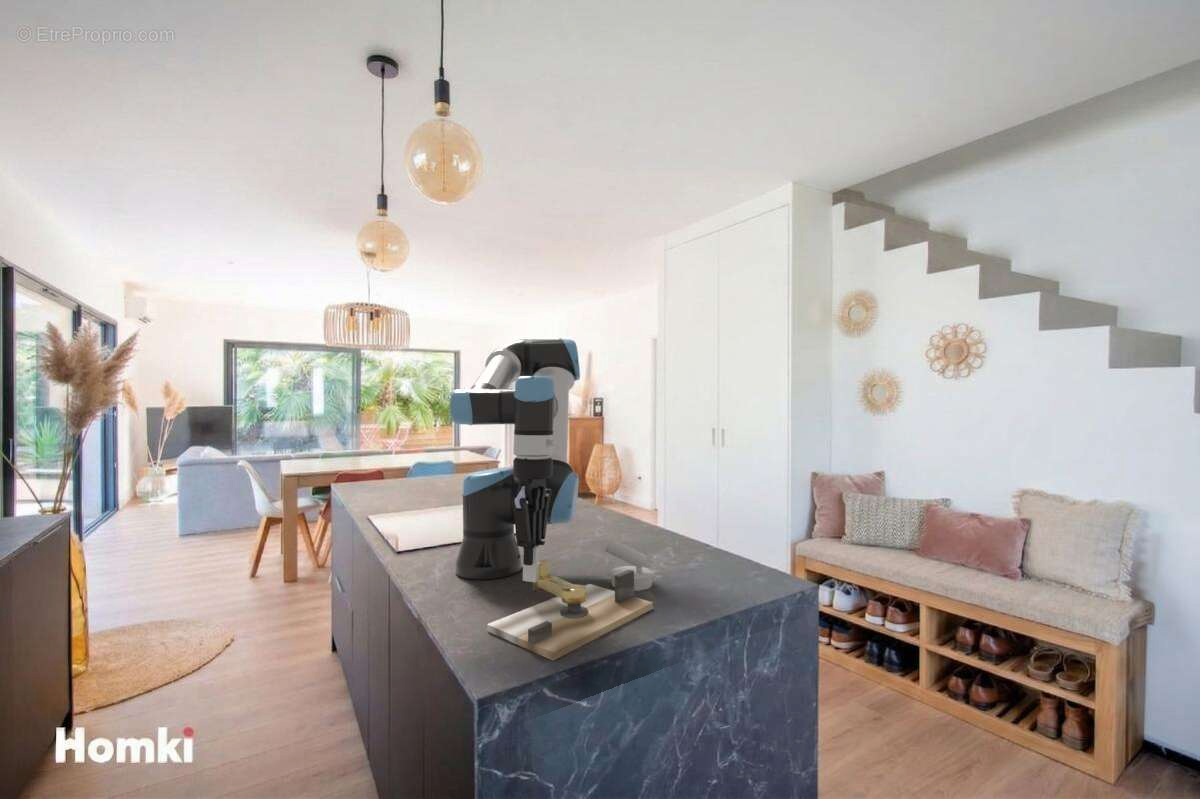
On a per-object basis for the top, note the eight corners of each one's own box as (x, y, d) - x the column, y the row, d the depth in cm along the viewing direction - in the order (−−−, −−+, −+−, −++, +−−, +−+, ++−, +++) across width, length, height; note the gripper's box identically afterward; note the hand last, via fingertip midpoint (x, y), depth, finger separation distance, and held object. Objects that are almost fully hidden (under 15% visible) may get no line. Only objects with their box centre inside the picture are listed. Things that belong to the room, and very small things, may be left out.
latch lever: (591, 605, 93) (591, 577, 93) (571, 612, 91) (571, 583, 91) (546, 584, 105) (545, 559, 105) (526, 589, 102) (526, 563, 102)
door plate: (487, 631, 89) (486, 594, 89) (589, 589, 109) (589, 559, 109) (553, 660, 79) (552, 619, 79) (653, 608, 98) (652, 575, 98)
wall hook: (608, 533, 118) (653, 535, 116) (609, 575, 118) (653, 578, 116) (601, 543, 109) (649, 545, 107) (601, 589, 109) (649, 592, 107)
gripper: (535, 460, 93) (533, 594, 93) (564, 455, 105) (562, 572, 105) (498, 458, 96) (496, 588, 95) (530, 453, 108) (528, 568, 108)
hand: (530, 580), depth 100 cm, fingers closed
